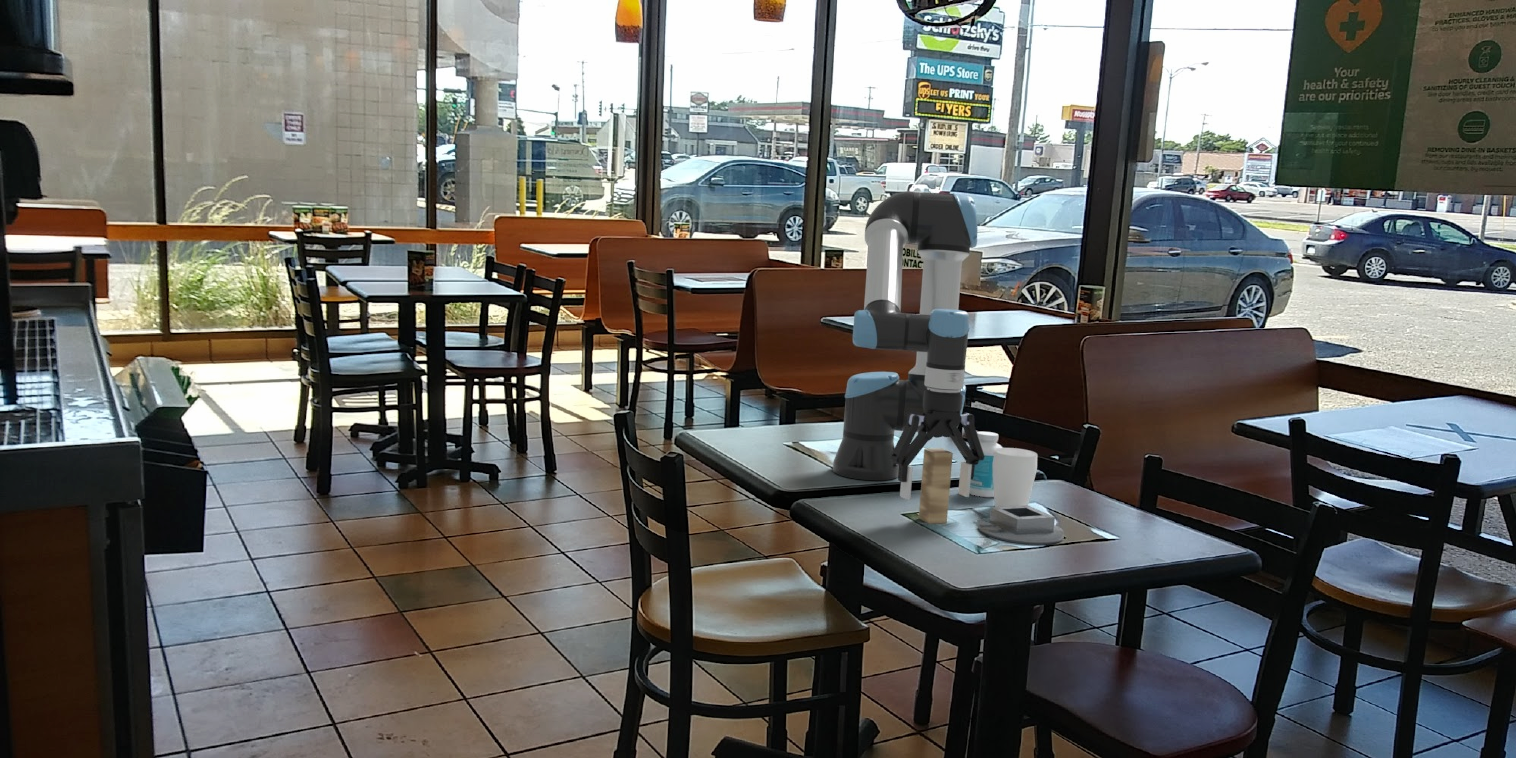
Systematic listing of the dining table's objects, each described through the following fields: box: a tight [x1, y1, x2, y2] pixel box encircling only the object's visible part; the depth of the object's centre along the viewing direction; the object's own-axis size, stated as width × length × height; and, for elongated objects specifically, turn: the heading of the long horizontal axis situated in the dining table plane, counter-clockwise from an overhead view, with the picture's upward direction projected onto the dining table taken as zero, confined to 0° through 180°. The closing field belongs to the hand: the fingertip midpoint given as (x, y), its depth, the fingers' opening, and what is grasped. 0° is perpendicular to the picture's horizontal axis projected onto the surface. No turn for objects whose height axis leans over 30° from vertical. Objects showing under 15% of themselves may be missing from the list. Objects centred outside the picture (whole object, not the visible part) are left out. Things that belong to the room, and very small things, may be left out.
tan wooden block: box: [918, 448, 954, 525], centre depth 223 cm, size 4×4×14 cm
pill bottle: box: [968, 431, 1003, 498], centre depth 248 cm, size 8×7×14 cm
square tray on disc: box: [978, 504, 1065, 546], centre depth 219 cm, size 16×16×4 cm
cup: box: [993, 447, 1038, 507], centre depth 237 cm, size 9×9×12 cm
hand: (934, 496), depth 224 cm, fingers open, 13 cm apart
